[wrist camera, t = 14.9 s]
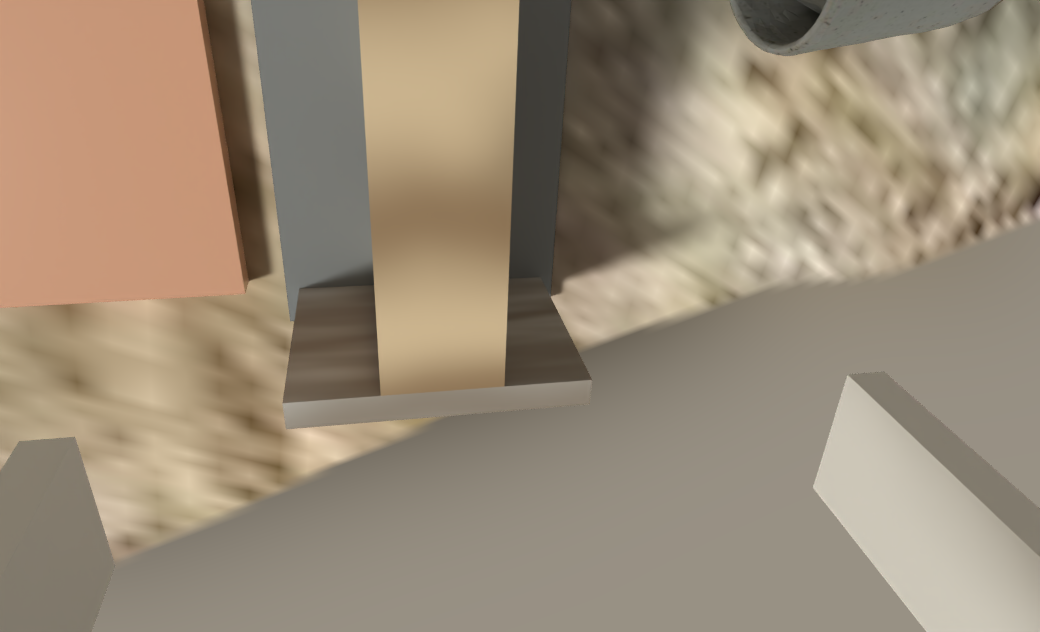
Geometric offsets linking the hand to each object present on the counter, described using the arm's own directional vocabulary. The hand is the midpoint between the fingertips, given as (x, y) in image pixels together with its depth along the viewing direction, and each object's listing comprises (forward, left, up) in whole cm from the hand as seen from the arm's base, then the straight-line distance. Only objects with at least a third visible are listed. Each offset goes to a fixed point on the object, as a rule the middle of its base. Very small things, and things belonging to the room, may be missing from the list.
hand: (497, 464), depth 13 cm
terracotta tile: (-7, -12, -18) cm, 23 cm away
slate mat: (-1, 0, -19) cm, 19 cm away
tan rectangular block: (-1, 0, -18) cm, 18 cm away
